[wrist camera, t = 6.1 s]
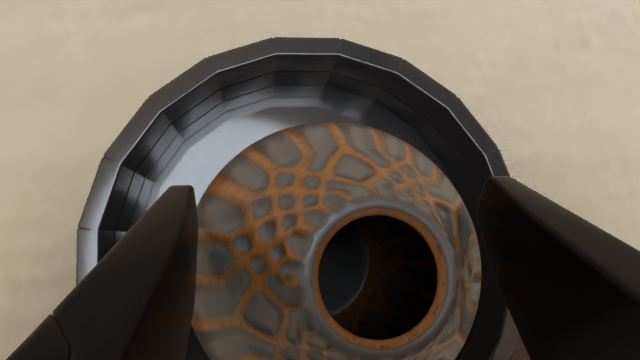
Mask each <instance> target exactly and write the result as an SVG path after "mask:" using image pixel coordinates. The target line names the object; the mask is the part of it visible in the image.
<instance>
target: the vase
mask: <svg viewBox="0 0 640 360" xmlns="http://www.w3.org/2000/svg"><path fill="white" fill-rule="evenodd" d="M196 208H197V216H198V245H197V270H196V291H195V302H194V309H193V316H192V321H191V324H192V327H193V329H194V332H195V334H196V336H197V338H198V340H199V342H200V344H201V346H202V347H203V349H204V351H205V352H206V354H207V355H208V357H209V358H210V360H455V358H456V357H457V355H458V354H459V352H460V350H461V349H462V347H463V345H464V343H465V341H466V339H467V337H468V335H469V332H470V330H471V327H472V325H473V322H474V319H475V315H476V312H477V308H478V303H479V298H480V289H481V258H480V250H479V245H478V240H477V236H476V232H475V229H474V226H473V223H472V220H471V217H470V215H469V213H468V210H467V208H466V206H465V204H464V202H463V200H462V199H461V197H460V195H459V194H458V192H457V190H456V189H455V187H454V186H453V185H452V183H451V182H450V180H449V179H448V178H447V177H446V175H445V174H444V173H443V172H442V171H441V170H440V169H439V168H438V167H437V166H436V165H435V164H434V163H433V162H432V161H431V160H430V159H429V158H428V157H427V156H425V155H424V154H423V153H421V152H420V151H419V150H417V149H416V148H414V147H413V146H411V145H410V144H408V143H406V142H405V141H403V140H401V139H399V138H397V137H395V136H393V135H391V134H389V133H386V132H383V131H381V130H378V129H375V128H371V127H368V126H363V125H359V124H353V123H345V122H315V123H308V124H302V125H297V126H293V127H289V128H286V129H283V130H280V131H277V132H275V133H272V134H270V135H268V136H265V137H264V138H262V139H260V140H258V141H256V142H254V143H253V144H251V145H250V146H248V147H247V148H245V149H244V150H243V151H241V152H240V153H239V154H237V155H236V156H235V157H234V158H233V159H232V160H230V161H229V162H228V163H227V164H226V165H225V166H224V167H223V168H222V169H221V170H220V172H219V173H218V174H217V175H216V177H215V178H214V179H213V180H212V182H211V183H210V184H209V186H208V187H207V189H206V191H205V192H204V194H203V195H202V197H201V199H200V201H199V203H198V205H197V207H196Z"/></svg>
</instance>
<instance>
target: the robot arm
mask: <svg viewBox="0 0 640 360" xmlns="http://www.w3.org/2000/svg"><path fill="white" fill-rule="evenodd" d="M476 218H477V222H478V225H479V228H480V231H481V235H482V238H483V241H484V244H485V248H486V251H487V254H488V257H489V261H490V264H491V267H492V270H493V273H494V276H495V279H496V282H497V284H498V287H499V289H500V292H501V294H502V296H503V298H504V301H505V303H506V305H507V307H508V310H509V312H510V314H511V317H512V319H513V321H514V323H515V326H516V328H517V330H518V332H519V335H520V337H521V339H522V342H523V344H524V346H525V348H526V351H527V353H528V355H529V357H530V360H640V251H638V250H637V249H635V248H633V247H631V246H630V245H628V244H626V243H624V242H623V241H621V240H619V239H618V238H616V237H614V236H612V235H611V234H609V233H607V232H605V231H604V230H602V229H600V228H598V227H597V226H595V225H593V224H591V223H590V222H588V221H586V220H584V219H583V218H581V217H579V216H577V215H576V214H574V213H572V212H570V211H569V210H567V209H565V208H563V207H562V206H560V205H558V204H557V203H555V202H553V201H551V200H550V199H548V198H546V197H544V196H543V195H541V194H539V193H537V192H536V191H534V190H532V189H530V188H529V187H527V186H525V185H523V184H522V183H520V182H518V181H516V180H515V179H513V178H511V177H509V176H491V177H489V178H487V180H486V181H485V183H484V186H483V189H482V192H481V195H480V198H479V201H478V204H477V207H476ZM197 245H198V216H197V208H196V200H195V192H194V188H193V187H192V186H191V185H174V186H170V187H169V188H168V189H167V190H166V191H165V192H164V193H163V194H162V195H161V196H160V197H159V198H158V199H157V200H156V202H155V203H154V204H153V205H152V206H151V207H150V208H149V209H148V210H147V211H146V212H145V213H144V214H143V215H142V217H141V218H140V219H139V220H138V221H137V222H136V223H135V224H134V225H133V226H132V227H131V228H130V229H129V230H128V231H127V233H126V234H125V235H124V236H123V237H122V238H121V239H120V240H119V241H118V242H117V243H116V244H115V245H114V246H113V248H112V249H111V250H110V251H109V252H108V253H107V254H106V255H105V256H104V257H103V258H102V259H101V260H100V261H99V262H98V264H97V265H96V266H95V267H94V268H93V269H92V270H91V271H90V272H89V273H88V274H87V275H86V276H85V277H84V278H83V280H82V281H81V282H80V283H79V284H78V285H77V286H76V287H75V288H74V289H73V290H72V291H71V292H70V293H69V295H68V296H67V297H66V298H65V299H64V300H63V301H62V302H61V303H60V304H59V305H58V306H57V307H56V308H55V309H54V311H53V315H49V316H48V317H47V318H46V319H45V320H44V321H43V322H42V323H41V324H40V325H39V326H38V327H37V328H36V330H35V331H34V332H33V333H32V334H31V335H30V336H29V337H28V338H27V339H26V340H25V341H24V342H23V343H22V344H21V345H20V346H19V347H18V348H17V349H16V350H15V351H14V352H13V353H12V354H11V355H10V356H9V357H8V358H7V359H6V360H185V356H186V350H187V344H188V339H189V333H190V327H191V321H192V316H193V309H194V302H195V291H196V270H197Z"/></svg>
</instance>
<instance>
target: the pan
mask: <svg viewBox="0 0 640 360" xmlns="http://www.w3.org/2000/svg"><path fill="white" fill-rule="evenodd" d="M315 122H345V123H353V124H359V125H363V126H368V127H371V128H375V129H378V130H381V131H383V132H386V133H389V134H391V135H393V136H395V137H397V138H399V139H401V140H403V141H405V142H406V143H408V144H410V145H411V146H413V147H414V148H416V149H417V150H419V151H420V152H421V153H423V154H424V155H425V156H427V157H428V158H429V159H430V160H431V161H432V162H433V163H434V164H435V165H436V166H437V167H438V168H439V169H440V170H441V171H442V172H443V173H444V174H445V175H446V177H447V178H448V179H449V180H450V182H451V183H452V185H453V186H454V187H455V189H456V190H457V192H458V194H459V195H460V197H461V199H462V200H463V202H464V204H465V206H466V208H467V210H468V213H469V215H470V217H471V220H472V223H473V226H474V229H475V232H476V236H477V240H478V245H479V250H480V258H481V289H480V298H479V303H478V308H477V312H476V315H475V319H474V322H473V325H472V327H471V330H470V332H469V335H468V337H467V339H466V341H465V343H464V345H463V347H462V349H461V350H460V352H459V354H458V355H457V357H456V358H455V360H509V359H510V357H511V355H512V353H513V351H514V349H515V347H516V346H515V345H516V344H517V341H518V336H519V332H518V330H517V328H516V326H515V323H514V321H513V319H512V317H511V314H510V312H509V310H508V307H507V305H506V303H505V301H504V298H503V296H502V294H501V292H500V289H499V287H498V284H497V282H496V279H495V276H494V273H493V270H492V267H491V264H490V261H489V257H488V254H487V251H486V248H485V244H484V241H483V238H482V235H481V231H480V228H479V225H478V222H477V218H476V207H477V204H478V201H479V198H480V195H481V192H482V189H483V186H484V183H485V181H486V180H487V178H489V177H491V176H509V177H510V175H509V172H508V170H507V167H506V165H505V162H504V160H503V158H502V155H501V153H500V150H499V149H497V148H498V147H497V145H496V144H495V143H494V141H493V140H492V139H491V138H490V136H489V135H488V134H487V133H486V131H485V130H484V129H483V128H482V126H481V125H480V124H479V123H478V121H477V120H476V119H475V118H474V116H473V115H472V114H471V112H470V111H469V110H468V109H467V107H466V106H465V105H464V104H463V102H462V101H461V100H460V99H459V98H458V97H456V95H455V94H454V93H452V92H451V91H449V90H448V89H447V88H445V87H444V86H442V85H441V84H439V83H438V82H436V81H435V80H434V79H432V78H431V77H429V76H428V75H426V74H425V73H424V72H422V71H421V70H419V69H418V68H416V67H415V66H414V65H412V64H411V63H409V62H408V61H406V60H403V59H402V58H400V57H397V56H394V55H391V54H388V53H385V52H382V51H379V50H376V49H372V48H369V47H366V46H363V45H360V44H357V43H354V42H351V41H348V40H345V39H339V38H289V37H275V38H269V39H266V40H262V41H259V42H256V43H252V44H249V45H246V46H242V47H239V48H236V49H232V50H229V51H226V52H222V53H219V54H216V55H212V56H209V57H208V58H204V59H203V60H201V61H200V62H198V63H197V64H195V65H194V66H193V67H191V68H190V69H188V70H187V71H185V72H184V73H182V74H181V75H179V76H178V77H177V78H175V79H174V80H172V81H171V82H169V83H168V84H166V85H165V86H163V87H162V88H160V89H159V90H158V91H156V92H155V93H153V94H152V95H150V96H149V97H148V99H146V100H145V102H144V103H143V104H142V106H141V107H140V108H139V109H138V111H137V112H136V113H135V115H134V116H133V117H132V119H131V120H130V121H129V122H128V124H127V125H126V126H125V128H124V129H123V130H122V131H121V133H120V134H119V135H118V137H117V138H116V139H115V141H114V142H113V143H112V144H111V146H110V147H109V148H108V150H107V151H106V152H105V154H104V157H103V158H102V159H101V162H100V165H99V167H98V170H97V173H96V176H95V179H94V182H93V184H92V187H91V190H90V193H89V196H88V199H87V202H86V204H85V207H84V210H83V213H82V216H81V219H80V221H79V224H78V228H79V229H77V269H76V286H77V285H78V284H79V283H80V282H81V281H82V280H83V278H84V277H85V276H86V275H87V274H88V273H89V272H90V271H91V270H92V269H93V268H94V267H95V266H96V265H97V264H98V262H99V261H100V260H101V259H102V258H103V257H104V256H105V255H106V254H107V253H108V252H109V251H110V250H111V249H112V248H113V246H114V245H115V244H116V243H117V242H118V241H119V240H120V239H121V238H122V237H123V236H124V235H125V234H126V233H127V231H128V230H129V229H130V228H131V227H132V226H133V225H134V224H135V223H136V222H137V221H138V220H139V219H140V218H141V217H142V215H143V214H144V213H145V212H146V211H147V210H148V209H149V208H150V207H151V206H152V205H153V204H154V203H155V202H156V200H157V199H158V198H159V197H160V196H161V195H162V194H163V193H164V192H165V191H166V190H167V189H168V188H169V187H170V186H174V185H191V186H192V187H193V188H194V192H195V200H196V207H197V205H198V203H199V201H200V199H201V197H202V195H203V194H204V192H205V191H206V189H207V187H208V186H209V184H210V183H211V182H212V180H213V179H214V178H215V177H216V175H217V174H218V173H219V172H220V170H221V169H222V168H223V167H224V166H225V165H226V164H227V163H228V162H229V161H230V160H232V159H233V158H234V157H235V156H236V155H237V154H239V153H240V152H241V151H243V150H244V149H245V148H247V147H248V146H250V145H251V144H253V143H254V142H256V141H258V140H260V139H262V138H264V137H265V136H268V135H270V134H272V133H275V132H277V131H280V130H283V129H286V128H289V127H293V126H297V125H302V124H308V123H315ZM185 360H210V358H209V357H208V355H207V354H206V352H205V351H204V349H203V347H202V346H201V344H200V342H199V340H198V338H197V336H196V334H195V332H194V329H193V327H192V324H191V327H190V333H189V339H188V344H187V350H186V356H185Z"/></svg>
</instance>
